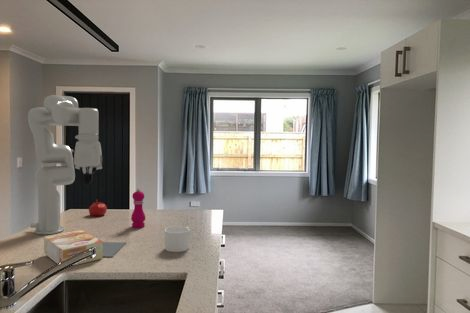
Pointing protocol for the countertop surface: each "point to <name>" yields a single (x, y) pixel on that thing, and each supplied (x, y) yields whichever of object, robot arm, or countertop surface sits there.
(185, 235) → the mug
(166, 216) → the countertop surface
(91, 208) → the pomegranate
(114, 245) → the mat
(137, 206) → the pepper mill
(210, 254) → the countertop surface
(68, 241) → the coffeecake box
